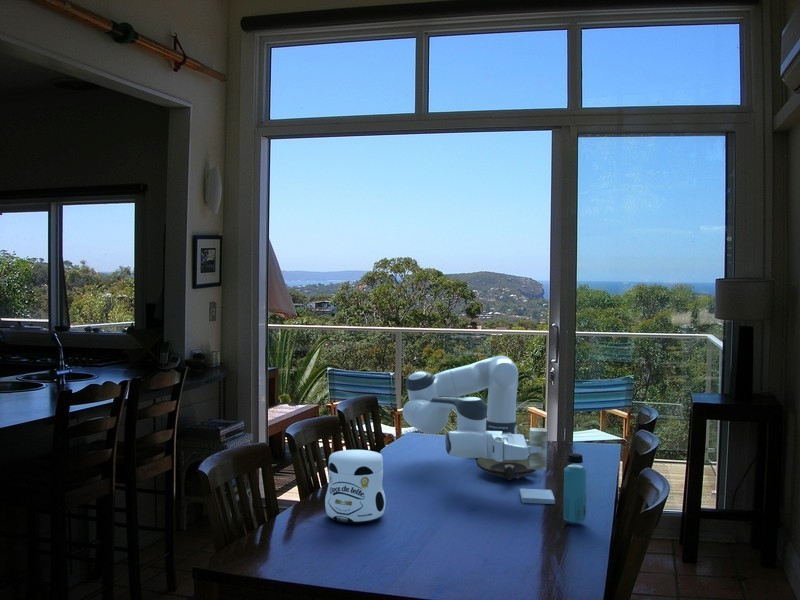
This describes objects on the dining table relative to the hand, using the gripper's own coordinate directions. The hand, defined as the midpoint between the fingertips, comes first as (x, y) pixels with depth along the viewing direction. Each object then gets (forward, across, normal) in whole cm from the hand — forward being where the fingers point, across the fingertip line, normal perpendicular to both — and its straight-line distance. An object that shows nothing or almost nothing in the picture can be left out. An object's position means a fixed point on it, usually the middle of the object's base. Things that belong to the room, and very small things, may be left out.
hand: (540, 446), depth 227 cm
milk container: (-55, +27, -17) cm, 63 cm away
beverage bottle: (+8, +23, -17) cm, 29 cm away
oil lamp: (-10, -25, -17) cm, 32 cm away
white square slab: (-1, 0, -16) cm, 17 cm away
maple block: (-1, 0, -7) cm, 7 cm away
